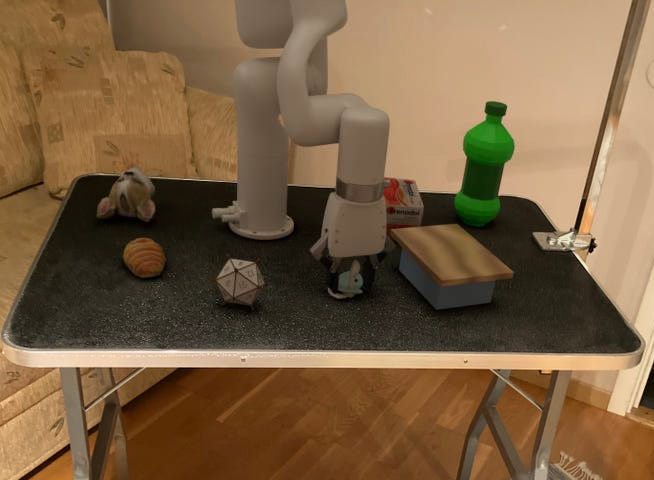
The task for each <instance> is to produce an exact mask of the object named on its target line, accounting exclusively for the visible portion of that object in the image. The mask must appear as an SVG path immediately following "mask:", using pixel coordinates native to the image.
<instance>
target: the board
mask: <svg viewBox="0 0 654 480" xmlns="http://www.w3.org/2000/svg"><path fill="white" fill-rule="evenodd" d="M390 236H391V237H392V238H393V239H394V240H395V242H396V243H397V244H398V245H399V246H400V247H401V249H402V248H403V249H404V250H405V251H406V252H407V253H408V254H409V255H410V256H411V257H412V258H413V259H414V260H415V261H416V262H417V263H418V264H419V265H420V266H421V267H422V268H423V269H424V270H425V271H426V272H427V273H428V274H429V275H430V276H431V277H432V278H433V279H434V280H435V281H436V282H437V283H438V284H439V285H440V286H441V287H443V286H451V285H460V284H468V283H476V282H485V281H493V280H495V281H499V280H500V281H501V280H508V279H513V277H514V273H515V272H514V271H513V270H512V269H510V267H509V266H507V265H506V264H505V263H503V261H501V259H499V258H498V257H497V256H495V254H494V253H492V252H491V251H490V250H488V249H487V248H486V247H485V246H484V245H483V244H482V243H480V242H479V241H478V240H477V239H476V238H475V237H473V236H472V235H471V234H470V233H468V232H467V231H466V230H465V229H464V228H462V226H460V225H459V224H458V223H448V224H435V225H425V226H424V225H423V226H421V227H411V228H399V229H391V231H390Z"/></svg>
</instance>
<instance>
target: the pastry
mask: <svg viewBox="0 0 654 480" xmlns="http://www.w3.org/2000/svg"><path fill="white" fill-rule="evenodd" d="M122 259H123V262H124V264H125V266H126V267H127V269H128V270H130V271H131V272H132V274H133V275H135V276H136V277H139V278H141V279H146V278H151V277H152V278H153V277H158V276H160V275H161V273H162V272H163V270H164V268H165V264H166V261H167V257H166V256H165V254H164V248H163V247H162V246H161V245H160V244H159V243H157V242H155V241H154V240H153V239H151V238H148V237H138V238H135V239H134V240H130V242H128V243H127V244H126V246H125V248H124V250H123V255H122Z"/></svg>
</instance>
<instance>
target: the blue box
mask: <svg viewBox="0 0 654 480" xmlns="http://www.w3.org/2000/svg"><path fill="white" fill-rule="evenodd" d="M398 271H400V273H402V275H403V276H404V277H405V278H406V279H407V280H408V281H409V282H410V283H411V284H412V286H414V288H415V289H416V290H417V291H418V292H419V293H420V294H421V295H422V296H423V298H424V299H425V300H427V301H428V303H429V304H430V305H431V306H432V307H433V308H434V309H435V310H445V309H452V308H453V309H454V308H461V307H467V306H475V305H483V304H489V303H490V304H491V303H492V298H493V294H494V289H495V285H496V280H493V281H485V282H476V283H468V284H460V285H451V286H443V287H441V286H440V285H439V284H438V283H437V282H436V281H435V280H434V279H433V278H432V277H431V276H430V275H429V274H428V273H427V272H426V271H425V270H424V269H423V268H422V267H421V266H420V265H419V264H418V263H417V262H416V261H415V260H414V259H413V258H412V257H411V256H410V255H409V254H408V253H407V252H406V251H405V250H404V249H403V248H402V247H401V253H400V260H399V267H398Z"/></svg>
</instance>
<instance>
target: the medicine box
mask: <svg viewBox="0 0 654 480" xmlns="http://www.w3.org/2000/svg"><path fill="white" fill-rule="evenodd" d="M384 179H385V180H388V179H389V180H390V187H389V188H385V189H384V191H383V196H384V197H385V204H386V234H387V236H388V237H389V238H390V239H391V240H392V241H393V243H395V242H396V241H395V240H394V239H393V238H392V237H391V236H390V231H391V229H399V228H411V227H422V222H423V218H424V217H423V216H424V210H425V206H424V203H423V200H422V197H421V195H420V194H421V193H420V191H419V188H418V184H417V182H416V180H415V179H406V178H397V177H385V176H384Z"/></svg>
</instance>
